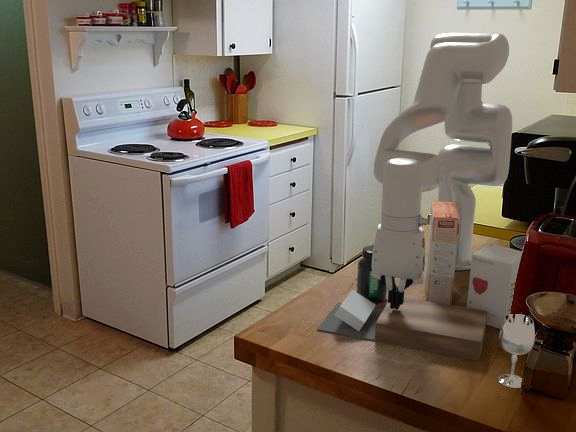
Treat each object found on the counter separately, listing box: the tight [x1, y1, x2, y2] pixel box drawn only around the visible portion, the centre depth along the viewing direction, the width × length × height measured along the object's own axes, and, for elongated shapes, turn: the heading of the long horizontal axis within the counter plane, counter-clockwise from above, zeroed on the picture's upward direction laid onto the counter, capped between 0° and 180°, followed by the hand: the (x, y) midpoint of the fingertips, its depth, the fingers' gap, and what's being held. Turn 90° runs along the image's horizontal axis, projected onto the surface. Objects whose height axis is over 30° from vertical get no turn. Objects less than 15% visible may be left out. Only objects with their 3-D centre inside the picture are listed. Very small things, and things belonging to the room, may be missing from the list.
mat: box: [316, 301, 384, 342], centre depth 130 cm, size 14×12×1 cm
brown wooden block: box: [374, 297, 488, 362], centre depth 124 cm, size 14×20×4 cm
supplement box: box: [466, 243, 523, 330], centre depth 130 cm, size 9×9×15 cm
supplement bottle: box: [356, 245, 388, 304], centre depth 140 cm, size 7×7×12 cm
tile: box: [335, 289, 376, 331], centre depth 129 cm, size 9×6×2 cm, turn 158°
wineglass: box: [497, 313, 536, 389], centre depth 106 cm, size 6×6×12 cm
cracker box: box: [424, 200, 460, 305], centre depth 141 cm, size 14×6×21 cm, turn 168°
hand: (395, 306), depth 126 cm, fingers closed
